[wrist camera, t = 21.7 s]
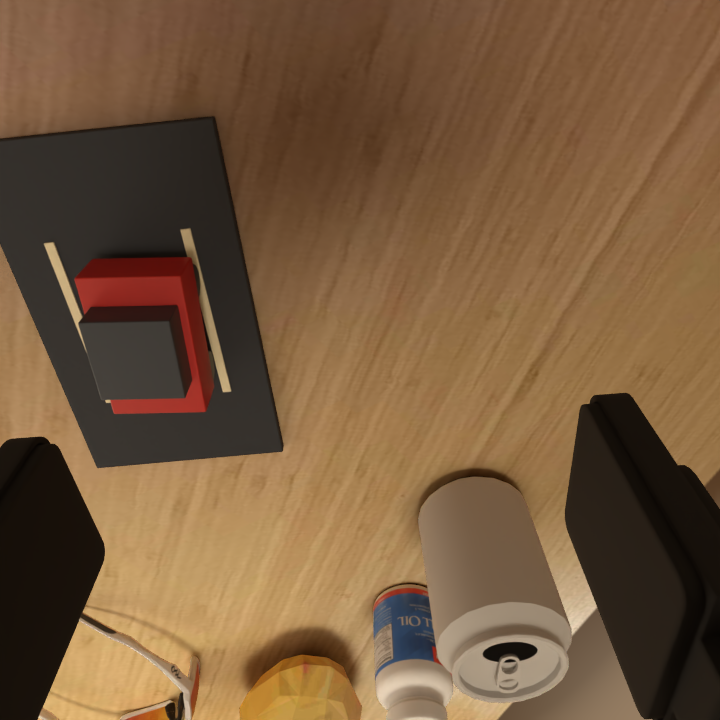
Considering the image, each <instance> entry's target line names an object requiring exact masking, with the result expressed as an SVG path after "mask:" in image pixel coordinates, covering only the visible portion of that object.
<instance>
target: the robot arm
mask: <svg viewBox="0 0 720 720" xmlns="http://www.w3.org/2000/svg"><path fill="white" fill-rule="evenodd" d="M565 521H566V527H567V530H568V533H569V536H570V538H571V541H572V543H573V546H574V549H575V551H576V554H577V556H578V559H579V561H580V564H581V566H582V569H583V572H584V574H585V577H586V579H587V582H588V584H589V587H590V589H591V592H592V595H593V597H594V600H595V602H596V605H597V607H598V610H599V612H600V615H601V617H602V620H603V623H604V625H605V628H606V630H607V633H608V635H609V638H610V641H611V643H612V646H613V648H614V651H615V653H616V656H617V658H618V661H619V664H620V666H621V669H622V671H623V674H624V676H625V679H626V681H627V684H628V686H629V689H630V692H631V694H632V697H633V699H634V702H635V704H636V707H637V709H638V711H639V713H640V715H641V716H642V717H643V718H644V719H653V720H720V509H719V507H718V506H717V504H716V503H715V502H714V500H713V499H712V497H711V496H710V494H709V493H708V491H707V490H706V489H705V487H704V486H703V484H702V483H701V481H700V480H699V478H698V477H697V476H696V474H695V473H694V472H693V471H692V470H691V469H690V468H689V467H687V466H685V465H677V464H676V462H675V461H674V459H673V458H672V456H671V455H670V453H669V452H668V450H667V449H666V447H665V446H664V444H663V443H662V441H661V440H660V438H659V437H658V435H657V434H656V432H655V431H654V429H653V428H652V426H651V425H650V423H649V422H648V420H647V419H646V417H645V416H644V414H643V413H642V411H641V410H640V408H639V407H638V405H637V404H636V402H635V401H634V399H633V398H632V397H631V395H630V394H628V393H618V394H604V395H595V396H593V397H592V398H591V400H590V404H583V405H582V406H581V408H580V412H579V419H578V426H577V433H576V439H575V446H574V453H573V460H572V466H571V473H570V480H569V487H568V493H567V500H566V507H565ZM104 556H105V547H104V543H103V540H102V538H101V536H100V534H99V532H98V530H97V527H96V525H95V523H94V521H93V519H92V517H91V515H90V513H89V510H88V508H87V506H86V504H85V502H84V500H83V498H82V496H81V493H80V491H79V489H78V487H77V485H76V483H75V481H74V479H73V476H72V474H71V472H70V470H69V468H68V466H67V464H66V462H65V459H64V457H63V455H62V453H61V451H60V449H59V448H58V446H57V445H55V444H50V442H49V441H48V440H47V439H46V438H45V437H29V438H16V439H10V440H7V441H6V442H5V443H4V444H3V445H2V446H1V447H0V720H38V717H39V715H40V712H41V710H42V708H43V705H44V703H45V700H46V698H47V696H48V693H49V691H50V689H51V686H52V684H53V681H54V679H55V677H56V674H57V672H58V669H59V667H60V665H61V662H62V660H63V657H64V655H65V653H66V650H67V648H68V646H69V643H70V641H71V638H72V636H73V634H74V631H75V629H76V626H77V624H78V622H79V619H80V617H81V614H82V612H83V610H84V607H85V605H86V602H87V600H88V598H89V595H90V593H91V591H92V588H93V586H94V583H95V581H96V579H97V576H98V574H99V571H100V569H101V567H102V564H103V561H104Z"/></svg>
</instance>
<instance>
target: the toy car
mask: <svg viewBox="0 0 720 720" xmlns="http://www.w3.org/2000/svg"><path fill="white" fill-rule="evenodd" d="M74 280H75V283H76V287H77V290H78V294H79V297H80V300H81V304H82V307H83V310H84V314H85V315H84V316H83V317H82V319H81V320H80V321H79V322H78V325H79V328H80V332H81V335H82V338H83V342H84V345H85V348H86V352H87V355H88V358H89V361H90V365H91V368H92V371H93V375H94V378H95V381H96V384H97V388H98V391H99V394H100V398H101V400H110V402H111V406H112V409H113V412H114V414H136V413H184V412H206V410H207V407H208V404H209V401H210V398H211V395H212V392H213V389H214V382H213V381H214V373H215V367H214V358H213V355H212V352H211V351H208V348H207V342H206V337H205V331H204V325H203V320H202V314H201V308H200V303H199V296H200V277H199V272H198V269H197V267H196V265H195V264H193V263H192V258H191V257H164V258H112V259H92V260H91V261H90V262H89V263H88V264H87V265H86V266H85V267H84V268H83V269H82V271H81V272H80V273H79V274H78V275H77V276H76V277H75V279H74Z"/></svg>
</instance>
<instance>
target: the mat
mask: <svg viewBox="0 0 720 720" xmlns="http://www.w3.org/2000/svg"><path fill="white" fill-rule="evenodd" d="M0 244H1V247H2V249H3V251H4V254H5V256H6V258H7V261H8V263H9V265H10V268H11V270H12V272H13V274H14V277H15V279H16V281H17V284H18V286H19V288H20V291H21V293H22V295H23V298H24V300H25V302H26V304H27V307H28V309H29V311H30V314H31V316H32V318H33V321H34V323H35V325H36V328H37V330H38V332H39V334H40V337H41V339H42V341H43V344H44V346H45V348H46V351H47V353H48V355H49V358H50V360H51V362H52V365H53V367H54V369H55V371H56V374H57V376H58V378H59V381H60V383H61V385H62V388H63V390H64V392H65V395H66V397H67V399H68V401H69V404H70V406H71V408H72V411H73V413H74V415H75V418H76V420H77V422H78V425H79V427H80V429H81V431H82V434H83V436H84V438H85V441H86V443H87V445H88V448H89V450H90V452H91V455H92V457H93V459H94V462H95V464H96V466H97V468H104V467H115V466H127V465H138V464H149V463H160V462H171V461H183V460H194V459H205V458H216V457H227V456H239V455H250V454H261V453H272V452H282V451H283V441H282V436H281V432H280V427H279V422H278V417H277V412H276V408H275V403H274V398H273V393H272V389H271V384H270V379H269V374H268V369H267V365H266V360H265V355H264V350H263V346H262V341H261V336H260V331H259V327H258V322H257V317H256V312H255V307H254V303H253V298H252V293H251V288H250V284H249V279H248V274H247V269H246V264H245V260H244V255H243V250H242V245H241V241H240V236H239V231H238V226H237V222H236V217H235V212H234V207H233V202H232V198H231V193H230V188H229V183H228V179H227V174H226V169H225V164H224V159H223V155H222V150H221V145H220V140H219V136H218V131H217V126H216V121H215V117H203V118H194V119H184V120H175V121H165V122H156V123H147V124H137V125H128V126H118V127H109V128H99V129H90V130H80V131H71V132H62V133H52V134H43V135H33V136H24V137H14V138H5V139H0ZM164 257H191V258H192V263H193V264H195V265H196V267H197V269H198V272H199V277H200V296H199V303H200V308H201V314H202V320H203V325H204V331H205V337H206V342H207V348H208V351H211V352H212V355H213V358H214V367H215V373H214V381H213V382H214V389H213V392H212V395H211V398H210V401H209V404H208V407H207V410H206V412H184V413H136V414H114V412H113V409H112V406H111V402H110V400H101V398H100V394H99V391H98V388H97V384H96V381H95V378H94V375H93V371H92V368H91V365H90V361H89V358H88V355H87V352H86V348H85V345H84V342H83V338H82V335H81V332H80V328H79V325H78V322H79V321H80V320H81V319H82V317H83V316H84V315H85V314H84V310H83V307H82V304H81V300H80V297H79V294H78V290H77V287H76V283H75V280H74V279H75V277H76V276H77V275H78V274H79V273H80V272H81V271H82V269H83V268H84V267H85V266H86V265H87V264H88V263H89V262H90V261H91V260H92V259H112V258H164Z"/></svg>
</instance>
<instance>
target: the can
mask: <svg viewBox="0 0 720 720" xmlns="http://www.w3.org/2000/svg"><path fill="white" fill-rule="evenodd" d="M418 524H419V531H420V538H421V545H422V552H423V559H424V566H425V573H426V580H427V588H428V595H429V602H430V609H431V616H432V623H433V630H434V637H435V644H436V650H437V655H438V659H439V661H440V662H441V664H442V665H443V666H444V667H445V668H446V669H447V671H449V672H450V673H451V674H452V679H453V683H454V684H455V685H456V687H457V688H458V689H459V690H460V691H461V692H462V693H464V694H466V695H468V696H470V697H472V698H473V699H477V700H481V701H485V702H491V703H510V702H518V701H524V700H527V699H530V698H533V697H537V696H539V695H541V694H543V693H545V692H546V691H549V690H550V689H552V688H553V687H554V686H555V685H557V684H558V683H559V682H560V681H561V680H562V679H563V677H564V676H565V674H566V672H567V670H568V668H569V662H568V661H569V660H568V655H567V653H566V652H567V650H568V648H569V646H570V644H571V642H572V639H571V638H572V635H571V627H570V624H569V621H568V619H567V616H566V613H565V610H564V607H563V605H562V602H561V599H560V596H559V593H558V590H557V588H556V585H555V582H554V579H553V576H552V574H551V571H550V568H549V565H548V562H547V560H546V557H545V554H544V551H543V548H542V546H541V543H540V540H539V537H538V534H537V532H536V529H535V526H534V523H533V520H532V518H531V515H530V512H529V509H528V506H527V504H526V502H525V500H524V498H523V496H522V495H521V493H520V492H519V491H518V490H517V489H515V488H514V487H513V486H512V485H510V484H509V483H506V482H503V481H501V480H498V479H495V478H486V477H467V478H460V479H457V480H455V481H452V482H450V483H448V484H446V485H444V486H442V487H440V488H439V489H438V490H436V491H435V492H434V493H432V494H431V495H430V496H429V497H428V498H427V500H426V501H425V503H424V504H423V505H422V507H421V509H420V513H419V518H418Z"/></svg>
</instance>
